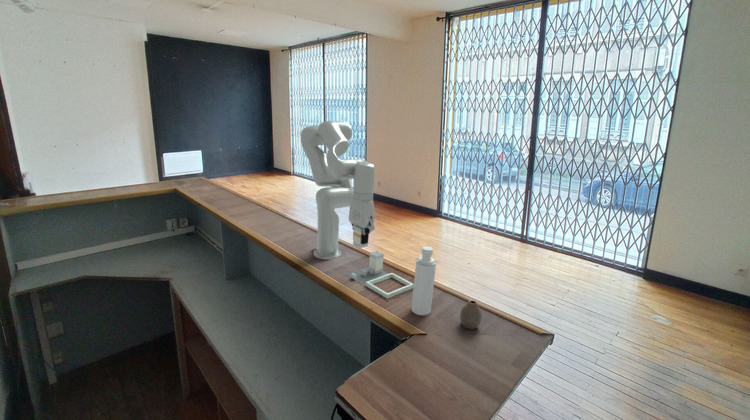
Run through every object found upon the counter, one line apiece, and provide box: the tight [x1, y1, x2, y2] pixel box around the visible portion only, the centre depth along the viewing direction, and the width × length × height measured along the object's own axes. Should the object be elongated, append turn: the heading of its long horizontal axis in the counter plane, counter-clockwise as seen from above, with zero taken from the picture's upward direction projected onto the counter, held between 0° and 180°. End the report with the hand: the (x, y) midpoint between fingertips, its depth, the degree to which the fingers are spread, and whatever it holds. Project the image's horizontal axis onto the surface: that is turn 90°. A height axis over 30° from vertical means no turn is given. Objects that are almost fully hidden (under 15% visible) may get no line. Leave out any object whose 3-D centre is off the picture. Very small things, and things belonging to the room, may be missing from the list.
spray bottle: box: [411, 245, 437, 316], centre depth 128 cm, size 7×7×25 cm
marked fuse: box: [352, 225, 369, 249], centre depth 145 cm, size 4×4×8 cm
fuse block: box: [345, 266, 389, 285], centre depth 152 cm, size 10×15×4 cm, turn 132°
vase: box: [459, 299, 483, 330], centre depth 123 cm, size 7×7×9 cm
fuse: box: [368, 250, 385, 274], centre depth 154 cm, size 4×4×8 cm
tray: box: [365, 272, 414, 301], centre depth 143 cm, size 12×14×3 cm
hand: (360, 241), depth 145 cm, fingers closed on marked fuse, 4 cm apart
